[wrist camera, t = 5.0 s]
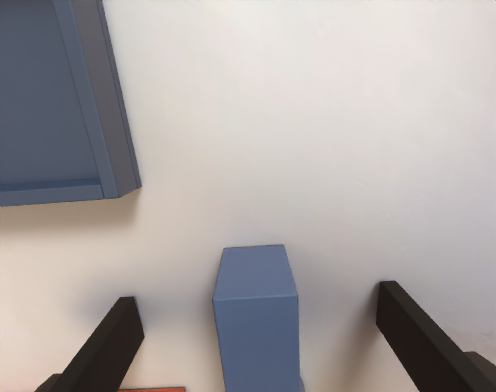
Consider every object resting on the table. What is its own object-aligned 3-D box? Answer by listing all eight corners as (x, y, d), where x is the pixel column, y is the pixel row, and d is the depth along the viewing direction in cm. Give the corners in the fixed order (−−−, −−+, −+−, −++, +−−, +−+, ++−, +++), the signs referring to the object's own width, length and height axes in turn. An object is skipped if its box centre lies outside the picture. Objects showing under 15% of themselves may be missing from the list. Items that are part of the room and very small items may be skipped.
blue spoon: (205, 248, 11) (185, 301, 8) (302, 242, 11) (325, 293, 8) (230, 417, 15) (223, 504, 11) (304, 414, 15) (320, 502, 11)
